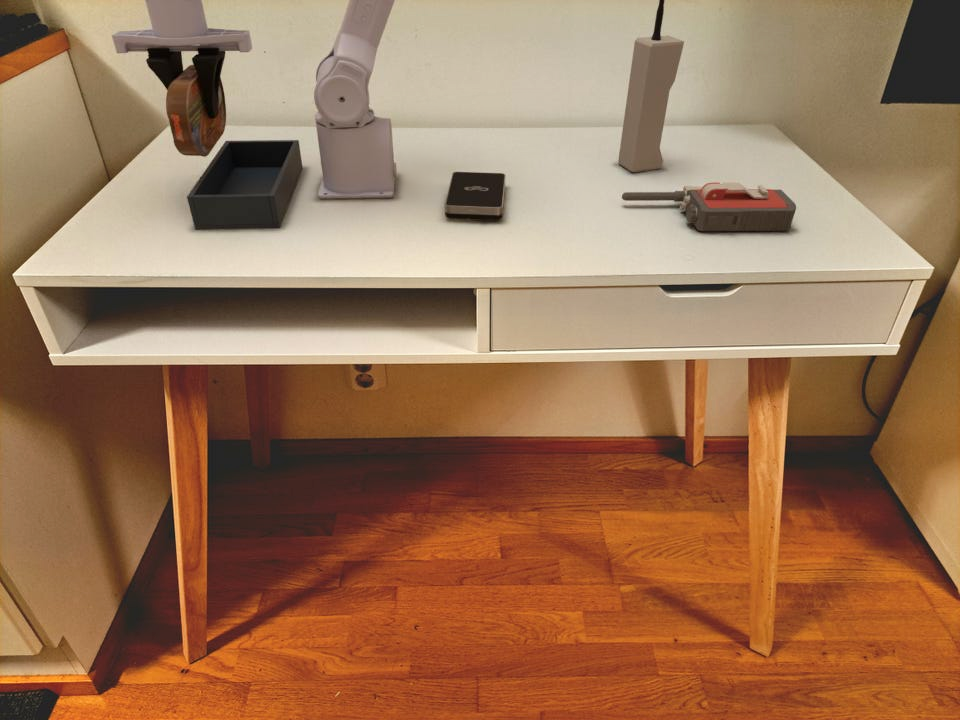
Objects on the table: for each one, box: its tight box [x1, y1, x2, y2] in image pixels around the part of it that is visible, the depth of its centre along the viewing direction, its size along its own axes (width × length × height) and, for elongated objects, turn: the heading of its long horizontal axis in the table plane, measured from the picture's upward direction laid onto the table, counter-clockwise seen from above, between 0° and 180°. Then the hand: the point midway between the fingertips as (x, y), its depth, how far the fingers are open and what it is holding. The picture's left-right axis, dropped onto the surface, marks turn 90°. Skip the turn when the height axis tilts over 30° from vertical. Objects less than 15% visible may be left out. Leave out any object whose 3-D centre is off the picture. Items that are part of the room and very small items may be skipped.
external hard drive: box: [444, 171, 506, 221], centre depth 85 cm, size 7×11×2 cm, turn 176°
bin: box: [186, 139, 304, 230], centre depth 85 cm, size 10×19×4 cm, turn 4°
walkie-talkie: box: [621, 182, 797, 232], centre depth 82 cm, size 9×4×20 cm
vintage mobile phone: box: [617, 0, 685, 174], centre depth 89 cm, size 4×5×25 cm
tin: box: [165, 64, 227, 158], centre depth 80 cm, size 15×3×8 cm, turn 3°
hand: (201, 116), depth 81 cm, fingers closed on tin, 2 cm apart
